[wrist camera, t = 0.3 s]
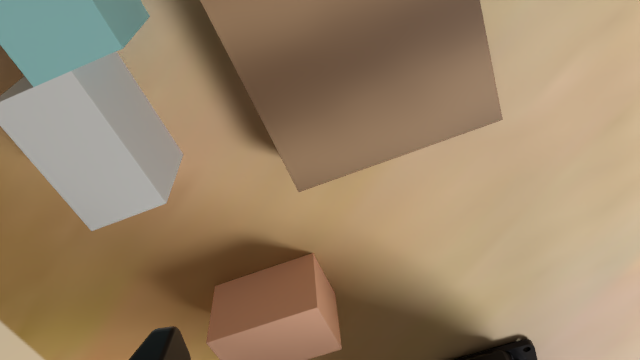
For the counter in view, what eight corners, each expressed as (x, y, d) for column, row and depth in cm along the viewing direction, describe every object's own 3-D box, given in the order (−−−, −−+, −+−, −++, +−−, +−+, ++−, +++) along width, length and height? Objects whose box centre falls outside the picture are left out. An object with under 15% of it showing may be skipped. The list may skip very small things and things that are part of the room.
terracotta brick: (312, 251, 27) (317, 307, 23) (334, 291, 29) (341, 349, 25) (215, 284, 28) (206, 343, 24) (242, 321, 29) (237, 380, 26)
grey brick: (183, 153, 23) (166, 203, 19) (119, 178, 23) (91, 231, 20) (107, 35, 20) (70, 71, 16) (34, 67, 20) (-15, 108, 17)
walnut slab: (478, 90, 22) (502, 119, 20) (297, 156, 24) (298, 192, 21) (431, -126, 17) (456, -123, 15) (207, -26, 19) (195, -8, 16)
